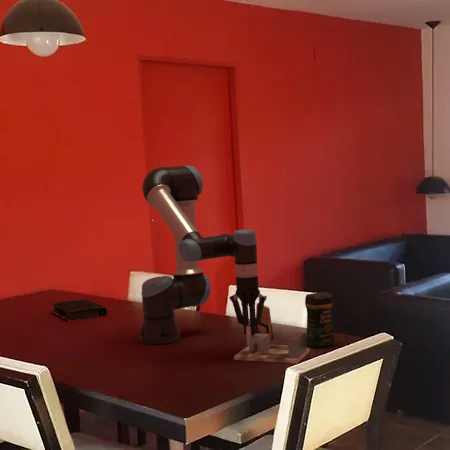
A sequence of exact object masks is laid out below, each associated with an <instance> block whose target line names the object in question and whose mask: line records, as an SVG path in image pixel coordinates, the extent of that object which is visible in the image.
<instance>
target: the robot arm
mask: <svg viewBox="0 0 450 450" xmlns="http://www.w3.org/2000/svg"><path fill="white" fill-rule="evenodd" d="M203 183H204V182H203V178H202V175H201V174H200V171H198V169H197V168H196V167H194V166H193V165H178V166H165V167H164V166H163V167H162V166H158V167H155V168H152V169H151V170H150V171H149V172H148V173H147V174H146V175H145V177H144V178H143V182H142V187H141V188H142V195H143V197H144V199H145V201H146V202H147V204H148V205H149V206H151V207H154V209H155V211H156V212H157V213H158V214H159V216H160V217H161V218H162V220H163V221H164V223H165V224H166V226H167V227H168V229H170V231H171V232H172V234H173V239H174V241H173V242H174V253H175V266H176V269H175V270H174V271H173V273H172V276H170V275H162V276H161V275H160V276H156V277H151V278H149V279H145V281H144V282H143V283H142V284H141V293H140V294H141V301H142V302H141V303H142V312H143V313H142V314H143V315H142V316H143V323H142V326H141V329H140V330H141V331H140V334H139V338H140V339H139V340H140V342H141V343H142V344H145V345H166V344H171V343H174V342H177V341H179V340H180V339H181V331H180V329H179V327H178V323H177V322H176V321H177V320H176V318H175V310H179V309H186V308H190V307H197V306H201V305H203V304H205V303H206V302H207V301H208V300H209V298H210V295H211V290H212V289H211V282H210V279H209V277H208V276H207V275H206V274H204V270H203V269H202V268H201V267H200V265H199V264H200V263H199V261H203V260H211V259H217V258H219V259H220V258H225V257H233V258H234V267H235V276H236V277H235V285H236V290H235V293H234V294H233V295H230V296H229V300H230V301H231V303H232V306H233V309H234V313H235V316H236V321H237V323H238V324H239V325H242V326H243V333H244V336H246V345H247V346H249V338H250V337H252V336H253V335H255V334H256V325H257V324H259V323H260V322H261V318H262V312H263V307H264V306H265V302H266V300H267V298H268V297H267V295H263V294H261V290H260V289H259V276H258V274H259V270H258V269H259V268H258V249H257V242H258V241H257V235H256V232H255V230H253V229H238V230H237V229H236V230H235V231H234V232H233V234H229V233H220V234H218V235H213V236H204V237H203V236H202V235H201V233H200V232H199V231H198V229H197V226H196V225H197V224H196V222H197V221H196V212H195V210H196V209H195V204H197V202H198V196H200V195H201V194H202V193H203V189H204V184H203ZM172 277H173V278H172ZM257 300H258V302H257V303H258V308H257V314H256V301H257ZM239 301H240V302H239ZM240 303H241V306H240Z"/></svg>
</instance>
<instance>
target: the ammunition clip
mask: <svg viewBox="0 0 450 450" xmlns="http://www.w3.org/2000/svg"><path fill="white" fill-rule="evenodd" d="M258 303H259V302H256V304H255V315H256V314H257V308H258ZM256 333H257V334H270V340H272V339H274V334H273V325H272V317H271V309H270V307H269V306H267V305H264V307H263V312H262V318H261V322H260V323H259V324H257V325H256Z"/></svg>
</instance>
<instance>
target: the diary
mask: <svg viewBox="0 0 450 450" xmlns="http://www.w3.org/2000/svg"><path fill="white" fill-rule="evenodd" d="M51 306H53V307H54V308H53V310H54V311H53V310H52V311H51V313H52V312H56V313H58V314H59V315H61V316H63V317H65V318H66V319H68V320H77V319H84V320H86V319H85V318H89V319H91V318H90V317H94V318H97V317H96V316H99V315H100V316H99V317H101V316H102V317H103V316H104V315H106V316H107V315H108V310H107V307H106V306H102V305H101V304H98V303H96V302H94V301H91V300H89V299H87V298H86V299H84V298H83V299H79V300H77V299H76V300H66V301H59V302H54V303H51Z"/></svg>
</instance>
